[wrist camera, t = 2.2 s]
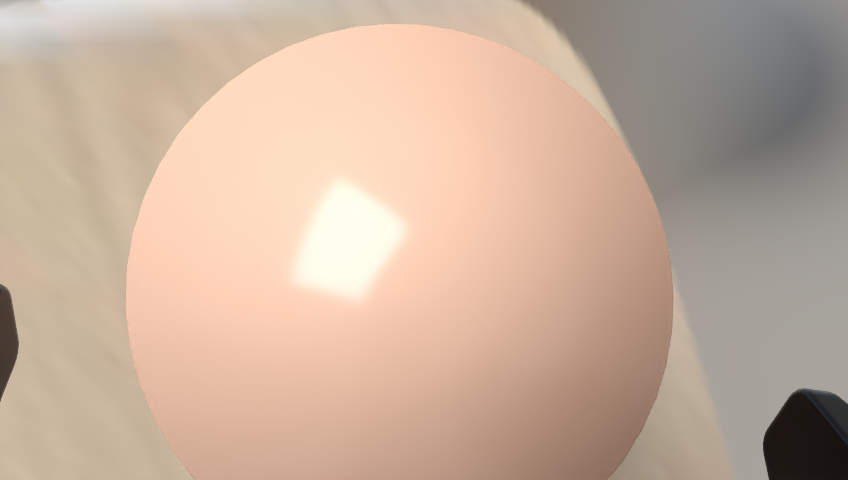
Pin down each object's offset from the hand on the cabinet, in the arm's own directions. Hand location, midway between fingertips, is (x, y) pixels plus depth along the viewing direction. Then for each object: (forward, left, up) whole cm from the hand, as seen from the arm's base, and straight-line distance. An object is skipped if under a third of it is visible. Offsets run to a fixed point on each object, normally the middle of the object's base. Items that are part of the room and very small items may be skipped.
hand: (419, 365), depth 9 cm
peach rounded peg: (+1, 0, -9) cm, 9 cm away
